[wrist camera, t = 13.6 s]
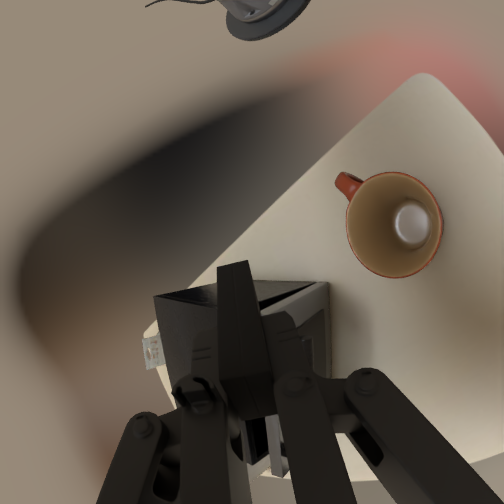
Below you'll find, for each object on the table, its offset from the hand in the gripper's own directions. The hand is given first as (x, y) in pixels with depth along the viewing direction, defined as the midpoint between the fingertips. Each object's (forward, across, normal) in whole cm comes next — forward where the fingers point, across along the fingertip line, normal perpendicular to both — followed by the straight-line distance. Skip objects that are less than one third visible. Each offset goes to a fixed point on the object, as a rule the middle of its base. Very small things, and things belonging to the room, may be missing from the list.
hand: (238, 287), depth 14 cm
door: (+13, +9, -25) cm, 30 cm away
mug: (+14, +19, -6) cm, 24 cm away
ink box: (+42, -22, -41) cm, 62 cm away
